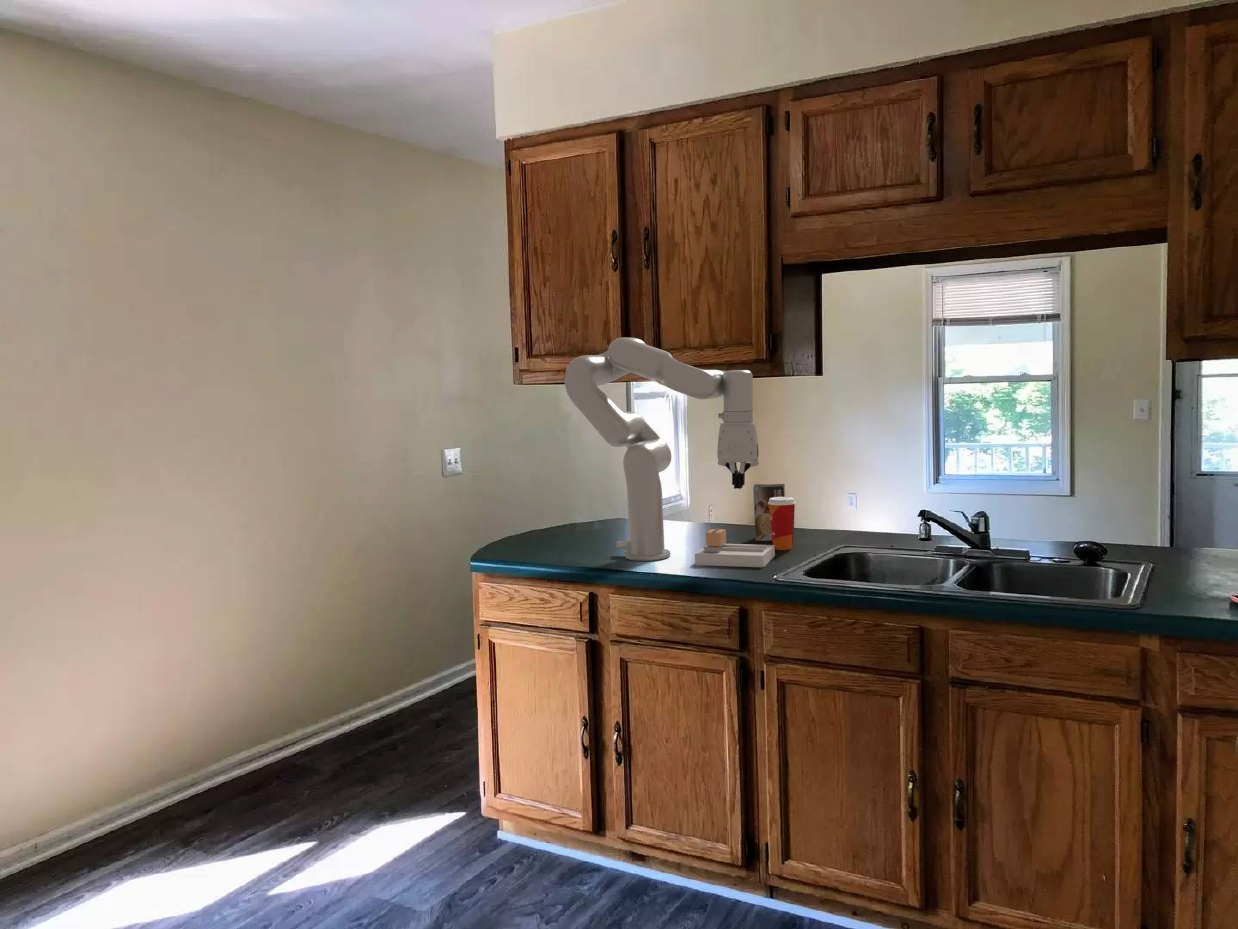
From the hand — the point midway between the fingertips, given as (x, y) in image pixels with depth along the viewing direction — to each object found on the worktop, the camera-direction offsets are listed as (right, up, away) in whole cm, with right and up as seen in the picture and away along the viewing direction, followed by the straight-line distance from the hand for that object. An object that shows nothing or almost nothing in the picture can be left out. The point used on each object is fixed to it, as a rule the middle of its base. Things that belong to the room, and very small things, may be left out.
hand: (738, 487), depth 242 cm
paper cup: (+14, -17, +16) cm, 28 cm away
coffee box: (+14, -16, +30) cm, 37 cm away
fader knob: (-5, -16, +4) cm, 17 cm away
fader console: (0, -19, +2) cm, 19 cm away
